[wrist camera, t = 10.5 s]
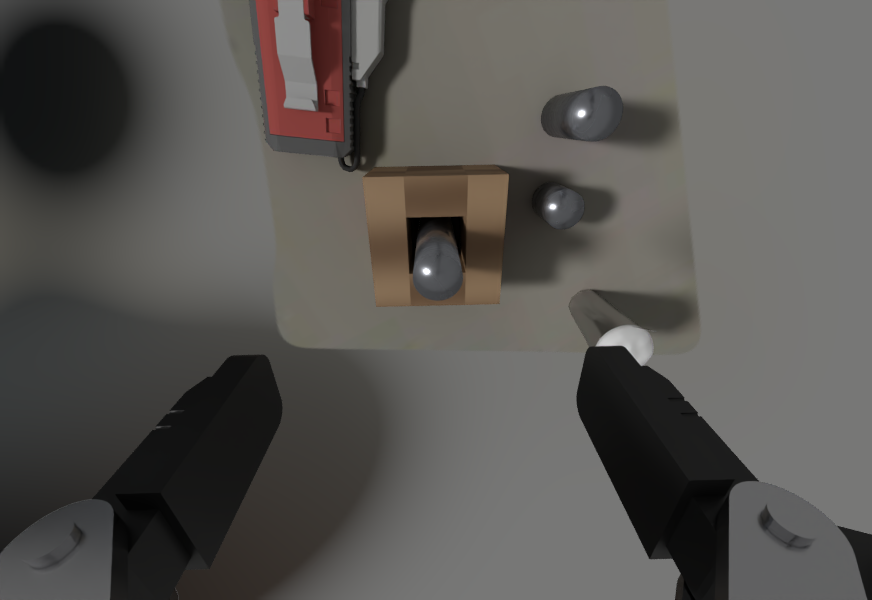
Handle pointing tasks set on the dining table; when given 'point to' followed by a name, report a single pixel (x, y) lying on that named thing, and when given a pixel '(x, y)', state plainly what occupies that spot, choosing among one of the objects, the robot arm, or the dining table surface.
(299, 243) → the dining table surface
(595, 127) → the pin medium
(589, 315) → the milkshake
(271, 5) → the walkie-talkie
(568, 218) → the pin short
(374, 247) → the hole block
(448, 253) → the pin long
